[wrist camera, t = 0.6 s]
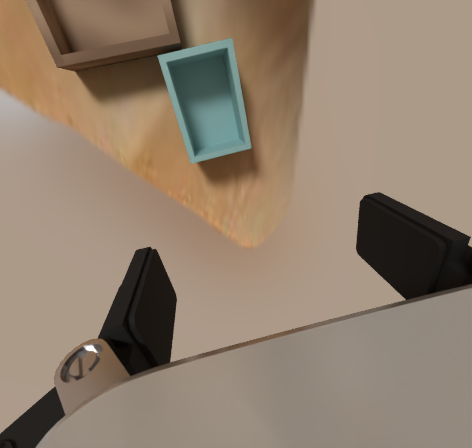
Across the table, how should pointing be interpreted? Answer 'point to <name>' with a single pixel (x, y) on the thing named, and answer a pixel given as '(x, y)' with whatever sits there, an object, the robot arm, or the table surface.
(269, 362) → the robot arm
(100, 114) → the table surface
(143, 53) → the walnut crate
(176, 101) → the teal crate
